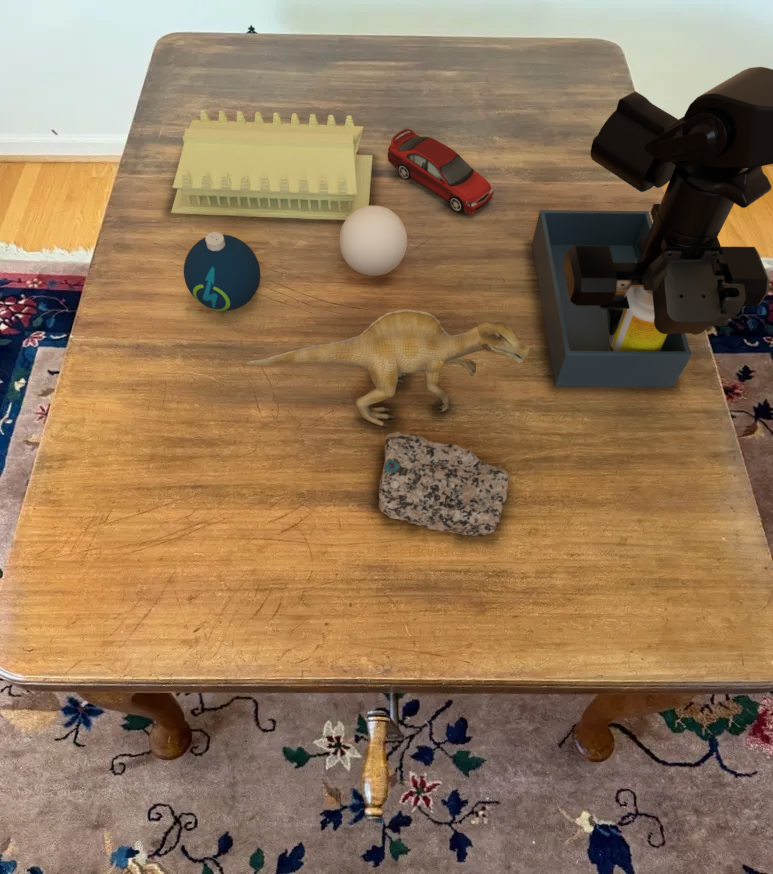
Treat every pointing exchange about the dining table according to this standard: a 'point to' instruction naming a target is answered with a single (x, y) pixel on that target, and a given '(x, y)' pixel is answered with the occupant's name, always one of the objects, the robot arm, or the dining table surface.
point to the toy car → (439, 171)
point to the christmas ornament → (222, 272)
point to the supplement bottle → (637, 324)
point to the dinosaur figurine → (405, 354)
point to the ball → (373, 240)
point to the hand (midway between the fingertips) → (638, 332)
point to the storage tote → (587, 325)
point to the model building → (272, 168)
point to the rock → (440, 486)
